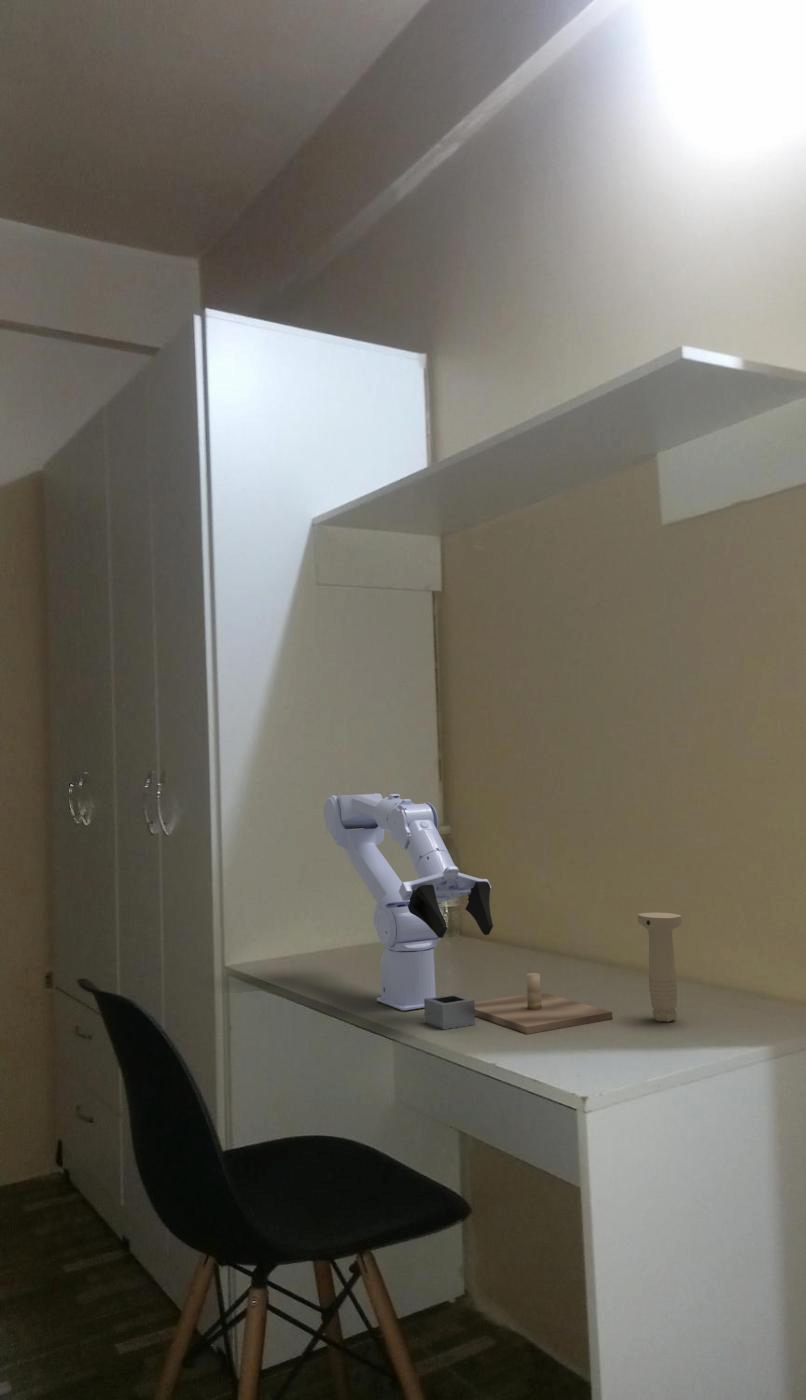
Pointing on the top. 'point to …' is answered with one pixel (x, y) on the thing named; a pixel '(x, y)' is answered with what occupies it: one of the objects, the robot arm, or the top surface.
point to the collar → (449, 1011)
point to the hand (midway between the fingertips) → (466, 931)
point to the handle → (661, 963)
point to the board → (538, 1010)
